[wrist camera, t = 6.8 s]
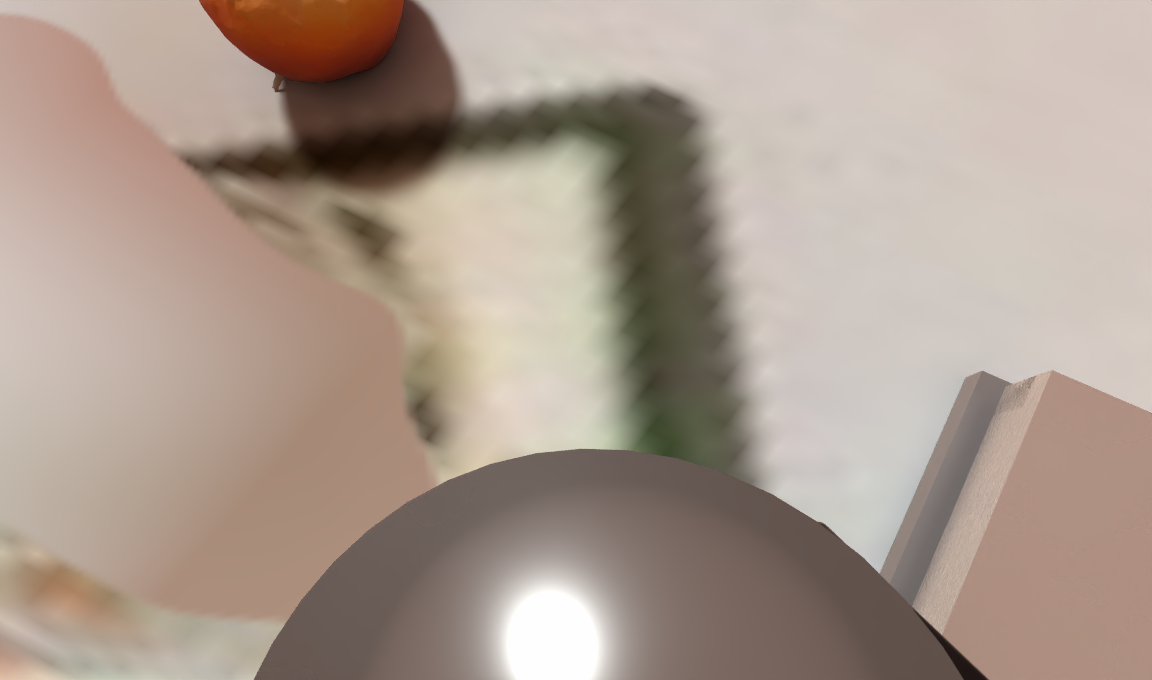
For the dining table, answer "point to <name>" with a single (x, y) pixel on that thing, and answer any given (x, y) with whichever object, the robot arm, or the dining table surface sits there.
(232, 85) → the dining table surface
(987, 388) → the scale
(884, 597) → the cylinder
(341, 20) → the fruit
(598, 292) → the dining table surface
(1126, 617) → the pan
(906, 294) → the dining table surface
